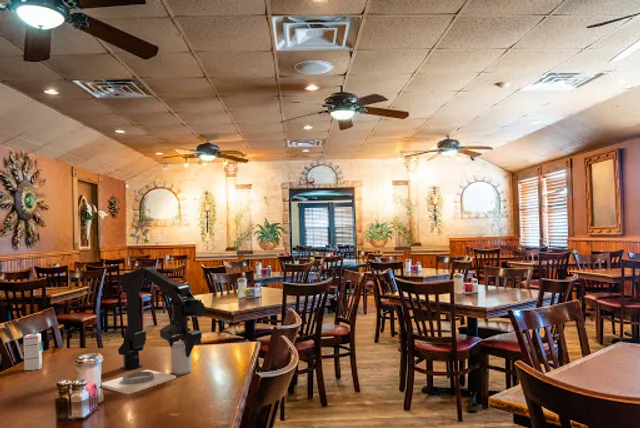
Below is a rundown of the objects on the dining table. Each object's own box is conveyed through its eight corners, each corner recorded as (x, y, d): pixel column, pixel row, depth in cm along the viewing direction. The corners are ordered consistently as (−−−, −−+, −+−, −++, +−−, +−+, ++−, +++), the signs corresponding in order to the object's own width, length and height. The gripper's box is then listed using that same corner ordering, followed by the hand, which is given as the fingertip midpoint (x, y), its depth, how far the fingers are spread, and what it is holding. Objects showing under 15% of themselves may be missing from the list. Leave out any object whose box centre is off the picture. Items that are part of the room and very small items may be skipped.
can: (186, 375, 182) (185, 344, 183) (168, 375, 184) (167, 344, 184) (195, 370, 190) (194, 339, 190) (177, 369, 191) (176, 339, 192)
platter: (99, 386, 173) (99, 379, 174) (147, 372, 190) (146, 365, 190) (128, 394, 163) (128, 386, 163) (176, 378, 180) (175, 371, 180)
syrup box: (40, 369, 201) (39, 335, 202) (23, 371, 199) (23, 336, 199) (42, 366, 206) (41, 332, 207) (26, 368, 204) (26, 334, 205)
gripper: (147, 318, 186) (149, 358, 186) (178, 321, 176) (180, 363, 175) (171, 313, 196) (172, 351, 195) (202, 316, 185) (203, 356, 184)
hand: (181, 355), depth 187 cm, fingers closed on can, 7 cm apart
